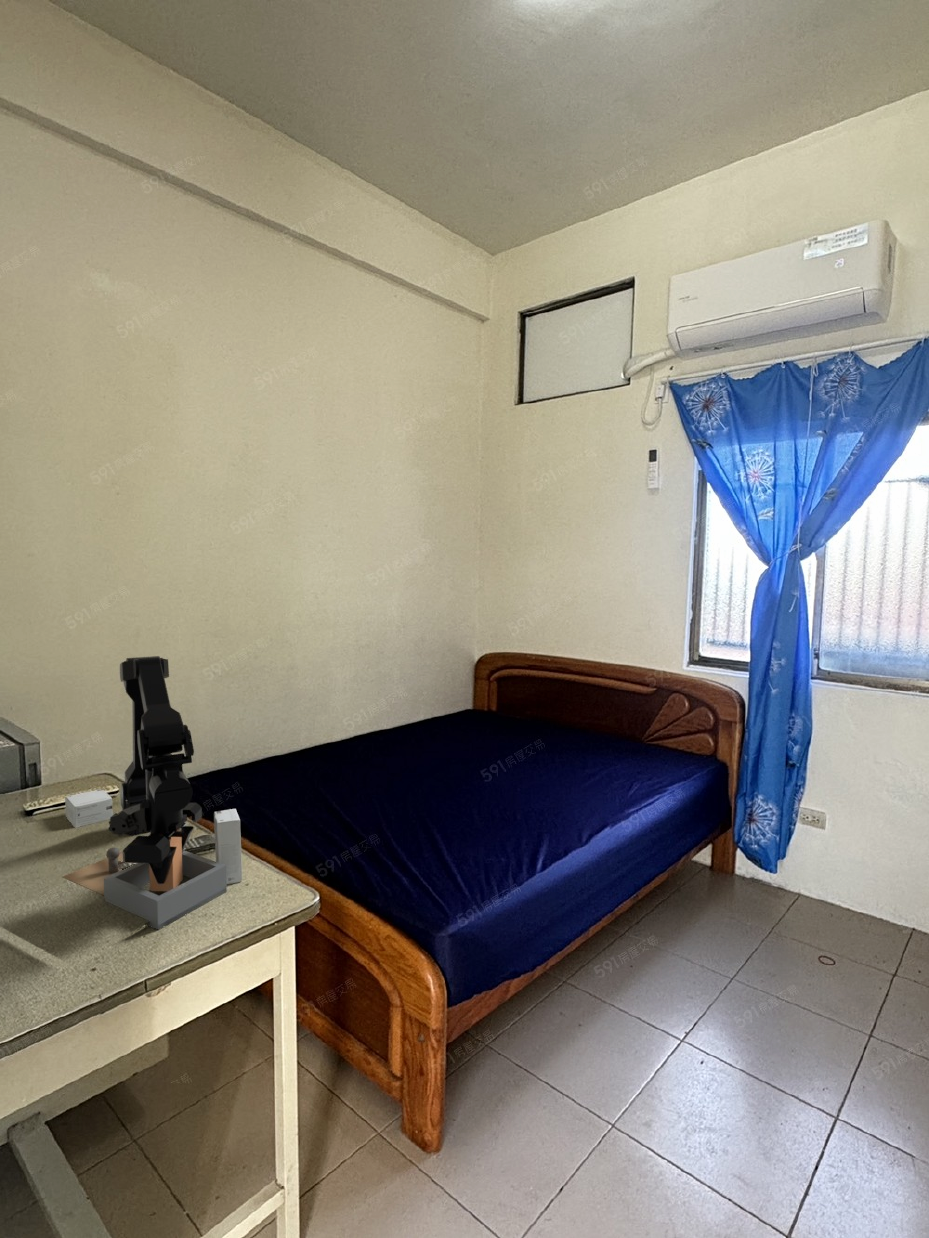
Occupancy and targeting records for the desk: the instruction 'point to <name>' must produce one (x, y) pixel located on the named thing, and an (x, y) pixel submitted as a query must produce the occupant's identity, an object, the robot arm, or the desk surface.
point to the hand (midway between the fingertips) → (166, 877)
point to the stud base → (97, 871)
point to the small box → (88, 807)
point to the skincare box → (228, 843)
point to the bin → (172, 903)
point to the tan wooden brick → (174, 871)
